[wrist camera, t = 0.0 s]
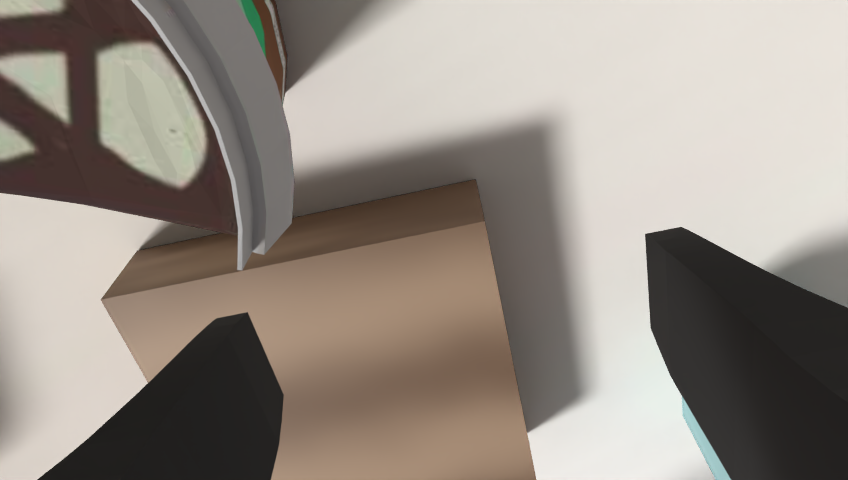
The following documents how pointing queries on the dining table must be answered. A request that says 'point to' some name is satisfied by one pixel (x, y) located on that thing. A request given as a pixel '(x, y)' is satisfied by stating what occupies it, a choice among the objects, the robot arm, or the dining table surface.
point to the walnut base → (355, 336)
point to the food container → (150, 111)
